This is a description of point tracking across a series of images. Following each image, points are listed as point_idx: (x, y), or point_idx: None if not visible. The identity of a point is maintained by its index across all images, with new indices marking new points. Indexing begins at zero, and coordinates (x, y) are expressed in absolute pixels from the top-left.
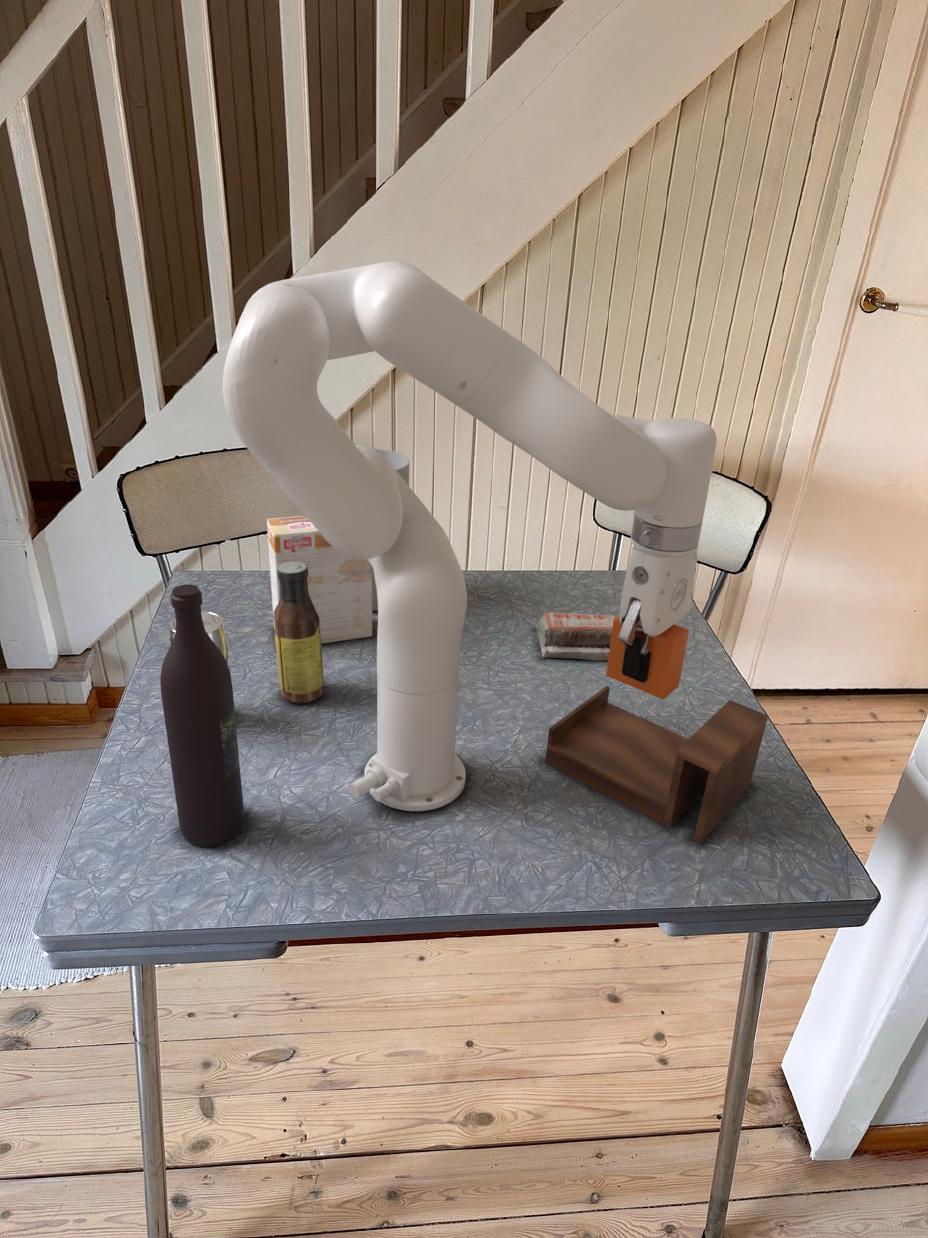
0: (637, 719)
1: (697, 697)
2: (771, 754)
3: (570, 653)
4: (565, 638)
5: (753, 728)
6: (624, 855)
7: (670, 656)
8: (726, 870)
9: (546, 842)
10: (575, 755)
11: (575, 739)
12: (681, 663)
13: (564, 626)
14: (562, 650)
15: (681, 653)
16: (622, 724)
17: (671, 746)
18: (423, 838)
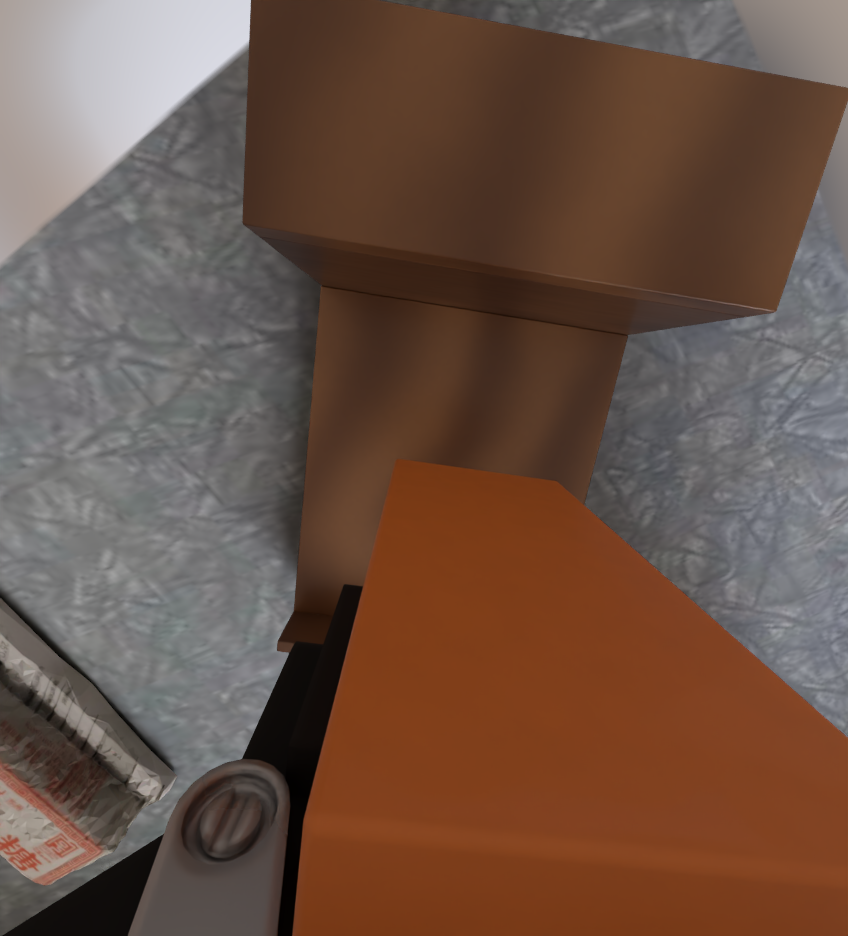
0: (317, 523)
1: (52, 433)
2: (160, 170)
3: (127, 746)
4: (93, 791)
5: (427, 21)
6: (736, 375)
7: (750, 655)
8: None
9: (763, 520)
10: None
11: None
12: (416, 514)
13: (62, 830)
14: (131, 765)
15: (458, 571)
16: (363, 546)
17: (378, 407)
18: (838, 691)
